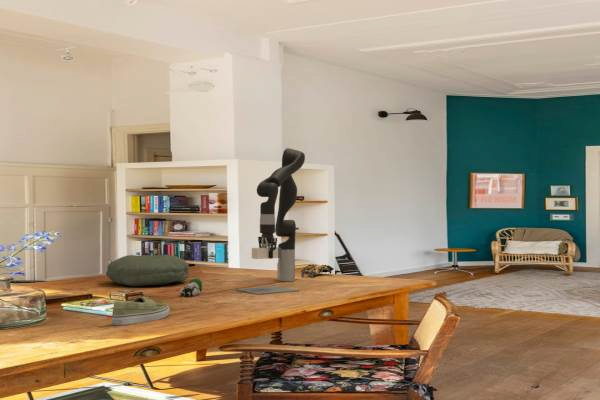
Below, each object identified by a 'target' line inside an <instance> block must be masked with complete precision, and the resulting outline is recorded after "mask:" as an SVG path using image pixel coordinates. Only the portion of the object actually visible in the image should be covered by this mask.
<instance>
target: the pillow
mask: <svg viewBox="0 0 600 400" xmlns="http://www.w3.org/2000/svg"><path fill="white" fill-rule="evenodd" d="M189 265H190V264H189V263H188V262H187V261H185V260H184V259H183V258H181V257H179V256H177V255H175V254H173V255H172V254H159V255H157V254H154V255H153V254H152V255H151V254H150V255H147V254H141V255H135V254H127V255H125V256H122V257H119V258H116V259H114V260H113V261H111V262H110V263H109V264H108V265H107V268H106V269H107V270H106V272H105V275H106V277H108V279H109V280H111V281H112V282H114V283H116V284H119V285H121V286H130V287H146V286H162V285H167V284H172V283H182V282H185V281H186V280H187V279H188V278H189V275H190V274H189V268H190V266H189Z"/></svg>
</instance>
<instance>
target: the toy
mask: <svg viewBox="0 0 600 400" xmlns="http://www.w3.org/2000/svg"><path fill="white" fill-rule="evenodd" d="M202 290H203V282H202V281H201V279H200V278H192V279H191V280H190V281H189V282H188V283H187V284H186V285H185V286H184V287H181V289H180V290H179V295H180V296H181V298H185V297H187V298H190V297H196V295H199V294H201V293H202V292H203V291H202Z"/></svg>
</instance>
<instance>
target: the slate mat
mask: <svg viewBox="0 0 600 400" xmlns="http://www.w3.org/2000/svg"><path fill="white" fill-rule="evenodd" d="M235 291H237V292H238V291H239V292H242V293H247V294H252V295H256V296H257V295H259V296H261V295H268V294H269V295H270V294H271V293H272V294H281V293H291V292H292V293H294V292H299V291H300V290H299V289H295V288H291V287H290V288H289V287H284V286H278V285H272V286H261V287H260V286H259V287H247V288H235ZM272 294H271V295H272Z"/></svg>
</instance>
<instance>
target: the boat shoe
mask: <svg viewBox="0 0 600 400" xmlns="http://www.w3.org/2000/svg"><path fill="white" fill-rule="evenodd" d="M170 311H171V310H170V306H169V305H168V304H167V303H166V302H165V301H154V299H152V298H150V296H138V297H136V298H134V299H133V300H124V301H123V300H116V301H113V310H112V315H111V321H112V325H114V326H128V325H134V324H135V325H136V324H139V323H144V322H145V323H146V322H150V321H151V322H153V321H158V320H162V319H165V318H166V317H168V316H169V315H170Z"/></svg>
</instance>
